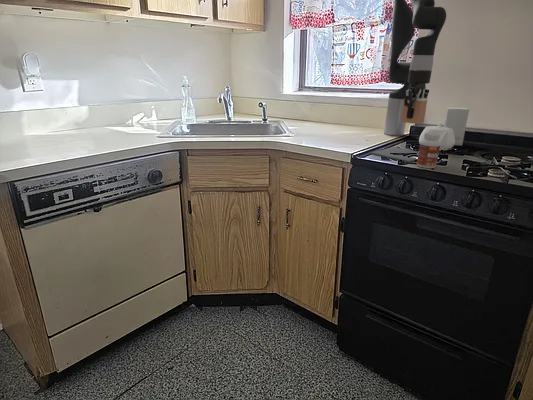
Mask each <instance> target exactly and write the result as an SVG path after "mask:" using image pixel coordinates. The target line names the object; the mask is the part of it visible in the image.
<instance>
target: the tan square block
mask: <svg viewBox="0 0 533 400" xmlns="http://www.w3.org/2000/svg"><path fill="white" fill-rule="evenodd" d="M412 99H415V98H412ZM407 103H408V100H407ZM412 104H413V101H412ZM427 105H428V97H427V98H417V102H416V103H415V107H414V113H413V118H412V119H410V118H407V117H406V116H407V110H408V108H407V106H405V105H404V102H403V109H402V116H401V122H406V124H413V125H421V124H423V125H424V121H425V117H426V111H427Z"/></svg>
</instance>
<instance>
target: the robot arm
mask: <svg viewBox="0 0 533 400" xmlns="http://www.w3.org/2000/svg"><path fill="white" fill-rule="evenodd" d="M410 4H411V7H412V9H411V7H410V6H409V3H407V1H406V0H393V9H392V11H393V12H392V23H391V49H390V50H391V51H390V59H389V60H390V62H389V69H388V81H389V82H390V84H391V83H392V84H403V86H402V87H400V88H397V89H395V90H392V91H391V90H390V92H389V94H388V103H387V108H386V109H387V110H386V115H385V123H384V129H383V133H384V134H385V135H387V136H397V137H398V136H404V135H405V131H406V130H405V129H406V124H407V123H406V122H401V116H402V109H403V102H404V105H405V106H407V108H408V110H407V116H406V117H407V118H410V119H412V118H413V113H414V107H415V103H416V102H417V98H428V97H429V93H430V89H427V88H426V86H427V84H430V83H431V79H432V78H431V77H432V72H433V71H432V70H433V66H434V54H435V50H436V44H437V42H438V39H439V36H440V33H441V31H442V29H443V27H444V25H445V23H446V21H447V11H446V9H445V8H444V7H442V6H436V5H435V4H436V2H435V0H410ZM415 29H417V30H429V32H428V34H427V35H425V36H419V37H417V38H416V39H415V40H414V42H413V43H414V44H413V51H412V56H411V60H410V62H399V61H398V60H399V57H400V56H401V54H402V53H403V51H404V50H405V48H406V47H407V46H408V45H409V44H410V43H411V41H412V39H413V37H414V35H415ZM412 98H415V99H412ZM407 100H408V103H407ZM412 101H413V104H412Z"/></svg>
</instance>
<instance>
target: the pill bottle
mask: <svg viewBox="0 0 533 400" xmlns="http://www.w3.org/2000/svg"><path fill="white" fill-rule="evenodd" d="M439 136H440V134H437V133H424V139H423V140H422V141H421V143H419V149H418V152H419V153H418V159H417V161H416V165H417V166H418V167H420V168H424V169H434V168H436V166H437V163H438V159H439V153H440V150H439V149H440V142H439V141H438V139H439Z"/></svg>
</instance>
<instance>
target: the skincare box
mask: <svg viewBox="0 0 533 400" xmlns="http://www.w3.org/2000/svg"><path fill="white" fill-rule="evenodd" d="M469 113H470V109H469V108H467V107H449V106H447V107H446V112H445V117H444V122H443V127H448V128H452V129H453V132H454V136H455V144H454V146H461V147H462V146H463V143H464V139H465V132H466V127H467V124H468V123H467V122H468V118H469Z"/></svg>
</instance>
